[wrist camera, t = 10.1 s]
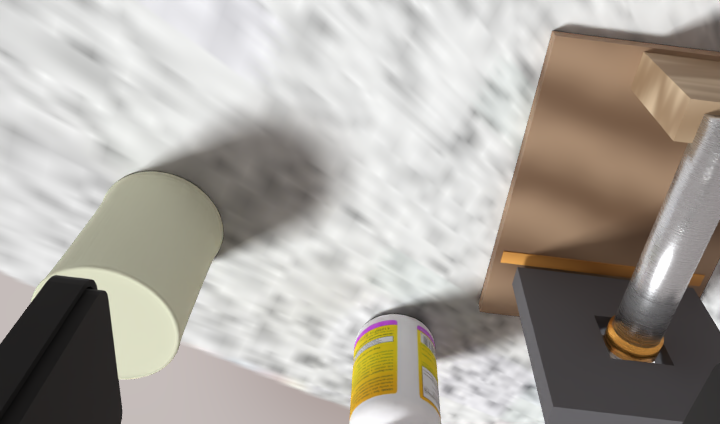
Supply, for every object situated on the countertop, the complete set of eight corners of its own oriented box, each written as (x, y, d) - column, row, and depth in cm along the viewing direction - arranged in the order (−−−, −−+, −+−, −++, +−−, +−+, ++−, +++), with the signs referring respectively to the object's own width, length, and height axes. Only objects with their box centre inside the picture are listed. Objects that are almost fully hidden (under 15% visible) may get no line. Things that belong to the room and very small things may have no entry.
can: (125, 148, 46) (48, 245, 36) (243, 207, 48) (201, 314, 38) (86, 240, 51) (8, 349, 40) (196, 289, 53) (148, 405, 42)
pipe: (688, 100, 35) (714, 127, 32) (750, 108, 35) (781, 135, 32) (580, 366, 46) (592, 403, 43) (628, 371, 46) (643, 409, 43)
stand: (552, 30, 40) (586, 79, 33) (806, 63, 40) (895, 118, 33) (478, 303, 52) (491, 383, 45) (676, 327, 52) (720, 410, 45)
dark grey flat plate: (517, 266, 47) (553, 406, 36) (693, 287, 48) (782, 433, 37) (512, 284, 48) (545, 425, 37) (684, 304, 48) (769, 451, 37)
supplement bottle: (344, 356, 56) (331, 489, 45) (371, 300, 52) (364, 430, 41) (416, 378, 57) (421, 514, 46) (448, 324, 53) (461, 458, 42)
